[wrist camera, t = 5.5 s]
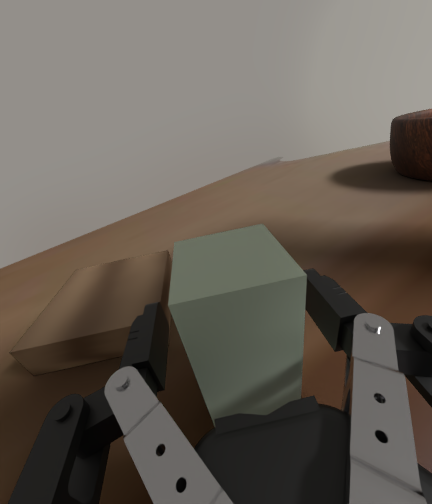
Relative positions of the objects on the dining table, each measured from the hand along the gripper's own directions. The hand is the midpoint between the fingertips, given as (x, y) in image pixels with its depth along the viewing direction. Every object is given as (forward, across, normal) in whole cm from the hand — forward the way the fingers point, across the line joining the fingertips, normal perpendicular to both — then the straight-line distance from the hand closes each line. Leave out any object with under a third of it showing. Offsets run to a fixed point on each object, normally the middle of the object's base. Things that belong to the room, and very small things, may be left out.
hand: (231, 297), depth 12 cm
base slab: (+8, +11, +6) cm, 15 cm away
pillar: (-2, 0, +6) cm, 6 cm away
